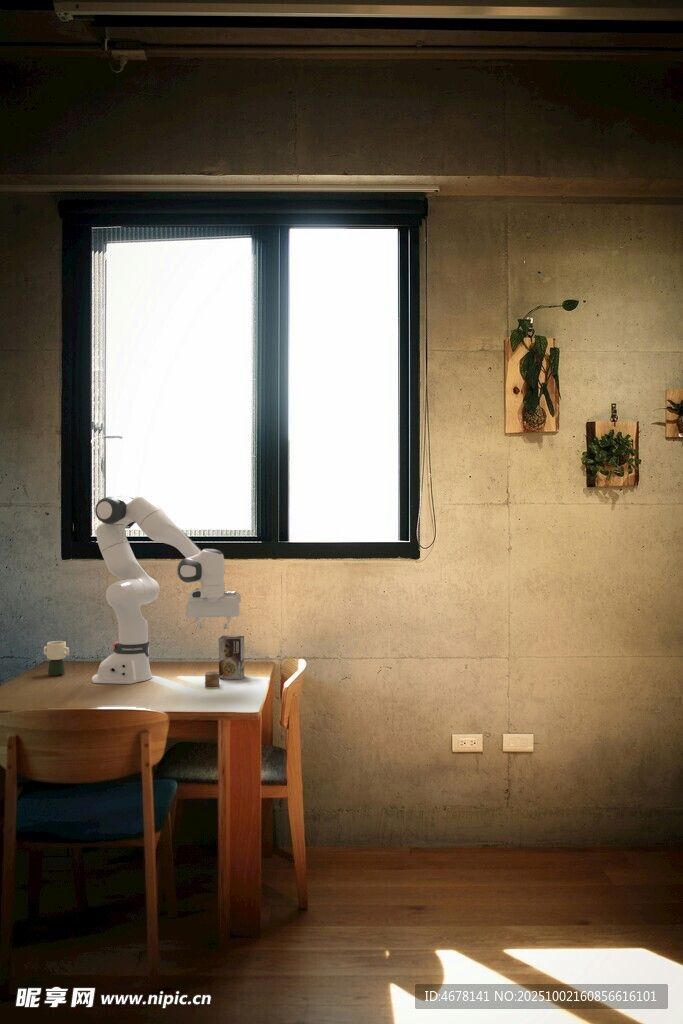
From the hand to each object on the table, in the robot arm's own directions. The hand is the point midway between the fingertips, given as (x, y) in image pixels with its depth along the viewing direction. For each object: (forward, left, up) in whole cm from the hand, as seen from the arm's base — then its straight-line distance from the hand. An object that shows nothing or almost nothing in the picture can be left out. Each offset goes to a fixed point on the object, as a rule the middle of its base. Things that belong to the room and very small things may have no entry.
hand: (213, 628), depth 285 cm
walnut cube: (0, 0, -22) cm, 22 cm away
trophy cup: (-62, +24, -22) cm, 70 cm away
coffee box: (+7, +13, -22) cm, 26 cm away
